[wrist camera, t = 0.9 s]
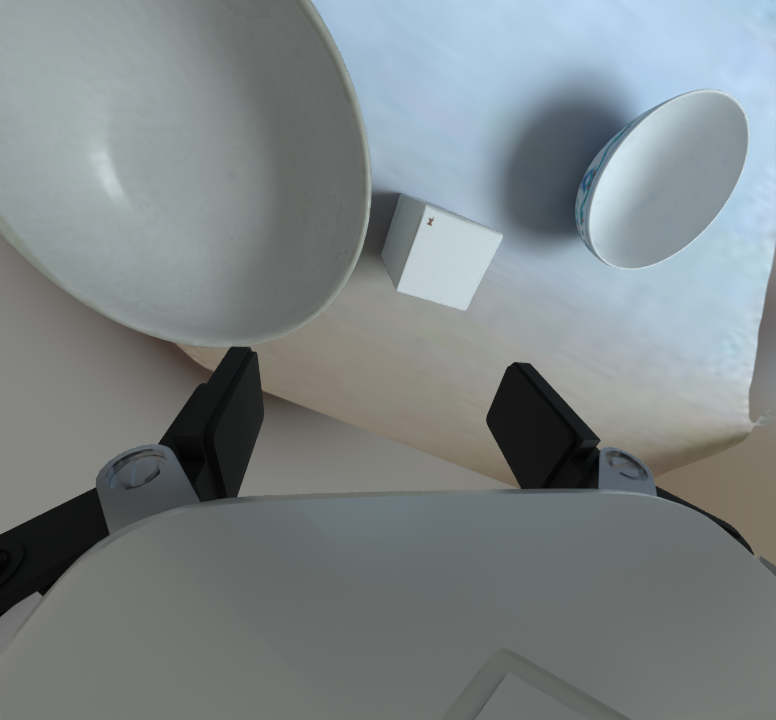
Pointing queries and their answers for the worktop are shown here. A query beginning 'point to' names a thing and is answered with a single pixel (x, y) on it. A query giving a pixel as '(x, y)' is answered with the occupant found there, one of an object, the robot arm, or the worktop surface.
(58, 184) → the decorative bowl
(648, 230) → the chinaware
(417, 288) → the supplement box
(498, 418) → the robot arm
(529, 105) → the worktop surface
